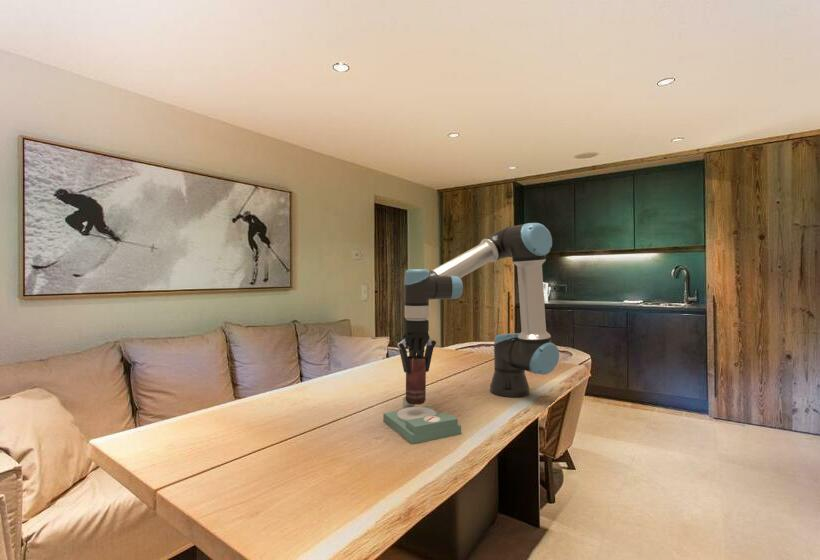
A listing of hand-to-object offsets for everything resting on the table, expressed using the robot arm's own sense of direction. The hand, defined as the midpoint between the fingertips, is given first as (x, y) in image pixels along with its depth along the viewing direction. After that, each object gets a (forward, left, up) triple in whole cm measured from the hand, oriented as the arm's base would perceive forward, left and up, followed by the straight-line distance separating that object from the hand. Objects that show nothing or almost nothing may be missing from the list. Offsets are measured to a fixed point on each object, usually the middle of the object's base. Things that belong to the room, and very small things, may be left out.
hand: (416, 395), depth 125 cm
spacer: (-4, -14, -9) cm, 17 cm away
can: (0, 0, -2) cm, 2 cm away
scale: (0, +2, -9) cm, 9 cm away
